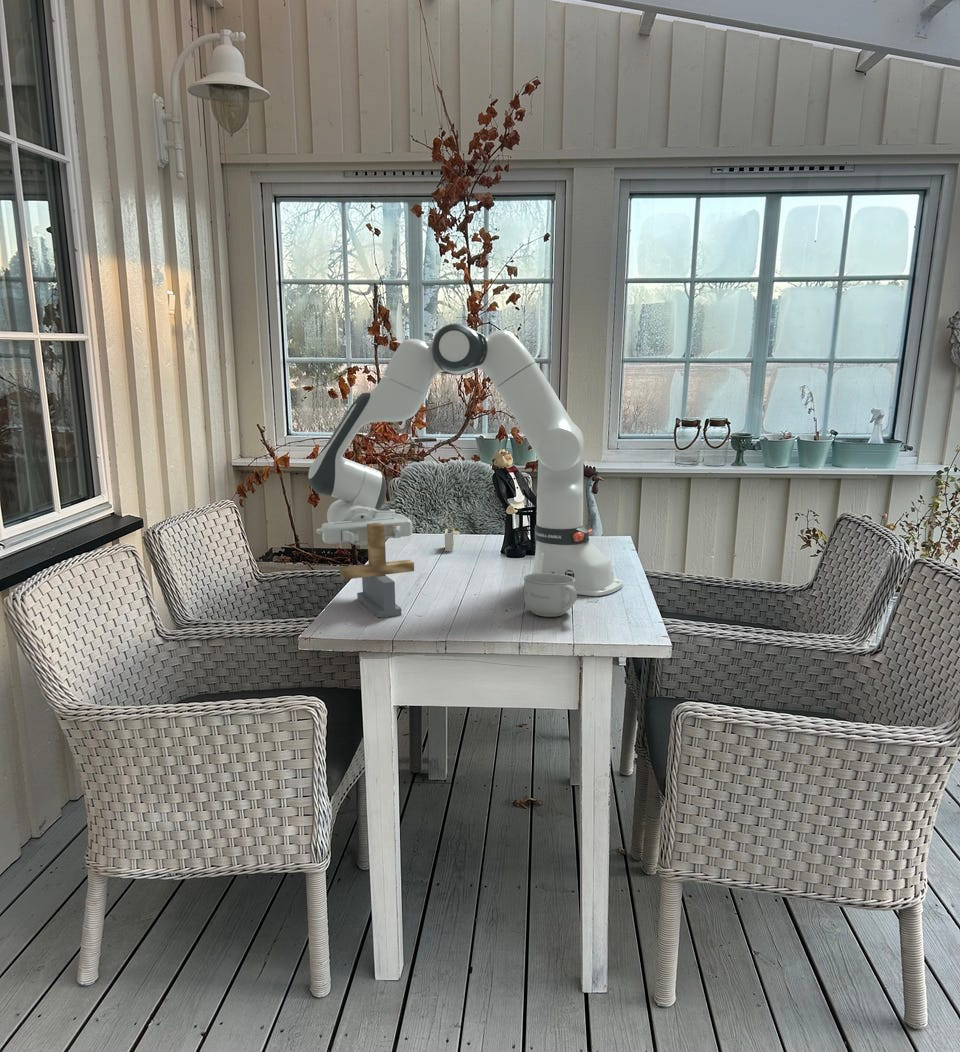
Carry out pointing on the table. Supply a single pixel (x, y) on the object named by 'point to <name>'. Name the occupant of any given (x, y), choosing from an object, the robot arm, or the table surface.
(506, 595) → the table surface
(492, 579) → the table surface
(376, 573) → the wooden t-shaped post
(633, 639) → the table surface
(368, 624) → the table surface
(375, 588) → the ridge
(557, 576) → the teacup
